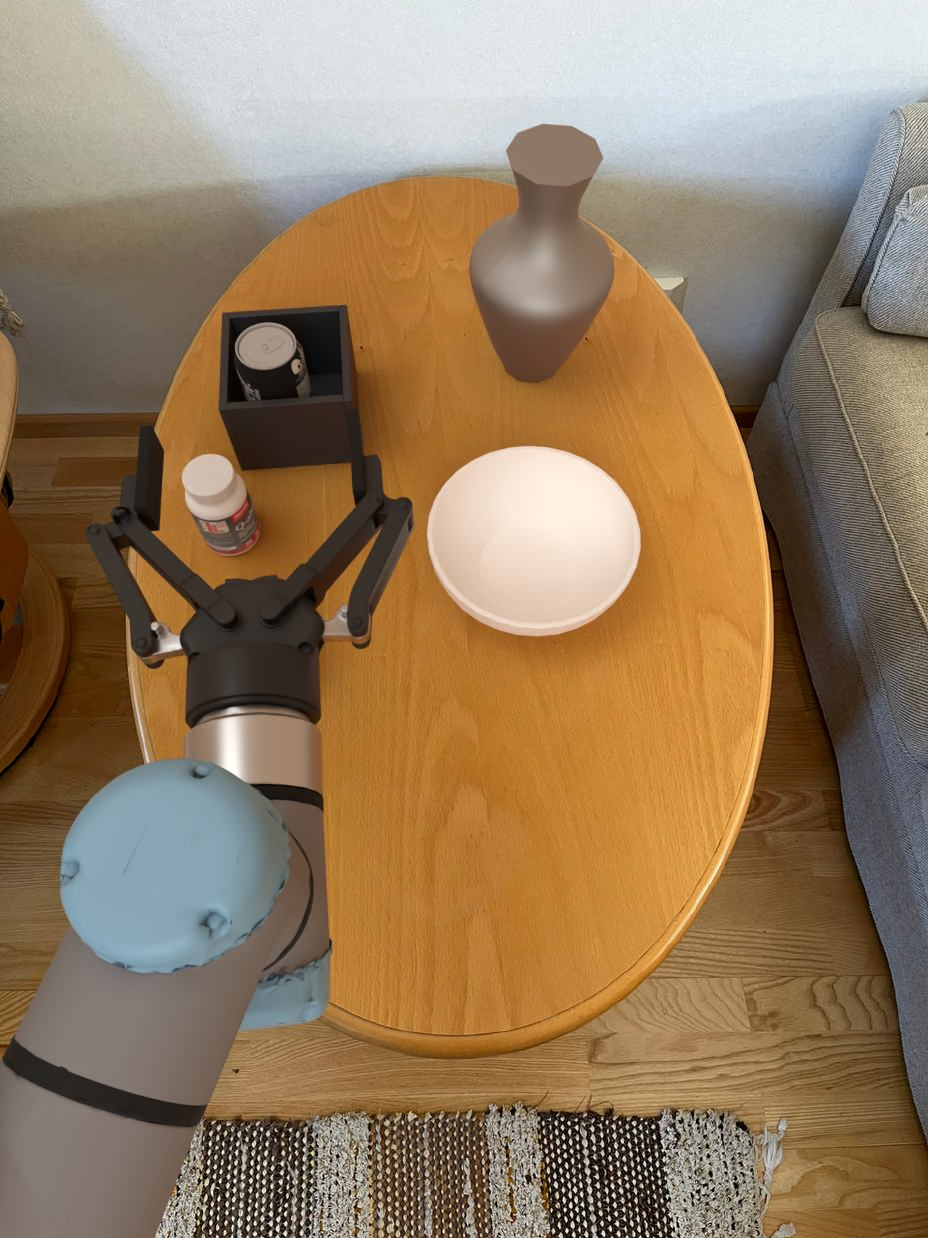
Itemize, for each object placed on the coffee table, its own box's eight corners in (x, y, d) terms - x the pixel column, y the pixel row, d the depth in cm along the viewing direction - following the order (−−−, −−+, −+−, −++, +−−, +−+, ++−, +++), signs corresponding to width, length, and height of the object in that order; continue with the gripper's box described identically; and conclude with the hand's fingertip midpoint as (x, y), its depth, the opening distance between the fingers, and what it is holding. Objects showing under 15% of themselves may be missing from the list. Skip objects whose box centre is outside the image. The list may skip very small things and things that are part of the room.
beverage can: (244, 425, 90) (216, 343, 79) (293, 393, 92) (271, 308, 81) (282, 462, 88) (259, 382, 77) (331, 428, 90) (314, 345, 79)
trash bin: (241, 470, 88) (218, 409, 79) (243, 378, 93) (221, 312, 85) (361, 461, 88) (351, 400, 80) (356, 370, 94) (346, 303, 85)
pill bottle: (258, 558, 83) (235, 501, 74) (201, 558, 83) (170, 501, 74) (264, 509, 86) (242, 448, 77) (208, 509, 86) (179, 449, 77)
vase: (596, 319, 98) (639, 107, 75) (592, 416, 91) (637, 216, 69) (473, 308, 98) (479, 94, 76) (460, 404, 92) (463, 201, 70)
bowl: (652, 638, 80) (670, 604, 73) (451, 679, 78) (451, 647, 71) (594, 473, 88) (605, 429, 82) (412, 506, 86) (408, 463, 80)
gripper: (57, 769, 50) (88, 478, 59) (472, 727, 51) (438, 450, 61) (-5, 729, 43) (41, 407, 53) (474, 682, 45) (437, 377, 54)
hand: (254, 429), depth 57 cm, fingers open, 13 cm apart
